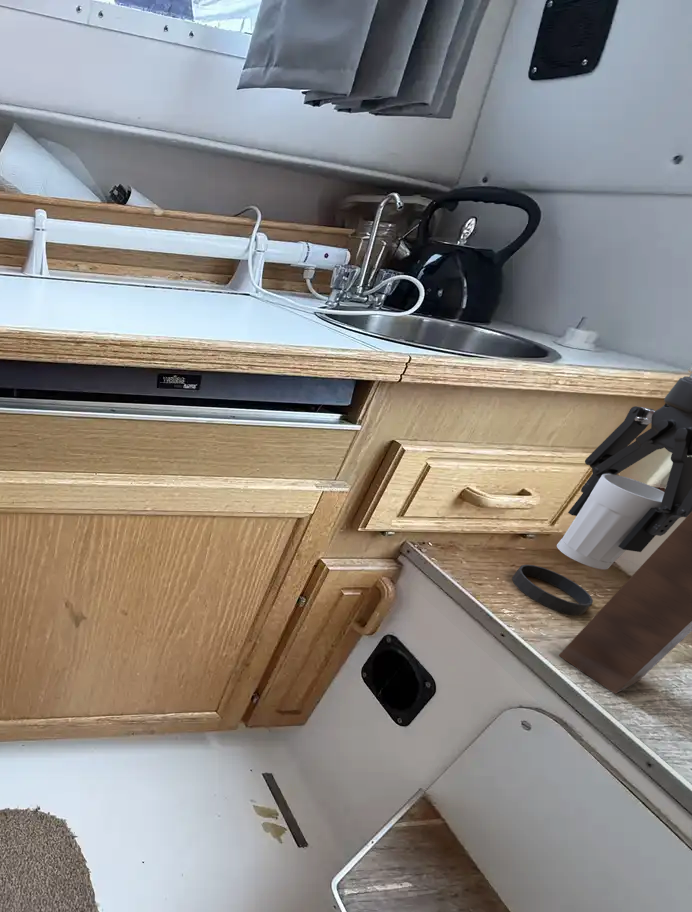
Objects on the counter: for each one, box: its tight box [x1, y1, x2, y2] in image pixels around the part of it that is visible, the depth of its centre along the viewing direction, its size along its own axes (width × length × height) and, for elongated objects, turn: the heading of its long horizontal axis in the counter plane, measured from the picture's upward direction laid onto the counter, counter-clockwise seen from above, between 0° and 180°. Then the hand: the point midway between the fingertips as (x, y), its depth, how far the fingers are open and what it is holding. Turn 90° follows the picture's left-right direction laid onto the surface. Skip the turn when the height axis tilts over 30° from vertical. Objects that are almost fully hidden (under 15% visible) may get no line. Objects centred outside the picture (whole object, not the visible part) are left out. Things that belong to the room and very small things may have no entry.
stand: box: [558, 512, 692, 695], centre depth 64 cm, size 6×6×32 cm
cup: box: [556, 474, 665, 570], centre depth 80 cm, size 8×8×12 cm
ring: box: [511, 564, 594, 616], centre depth 86 cm, size 9×9×2 cm
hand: (602, 531), depth 80 cm, fingers closed on cup, 8 cm apart
